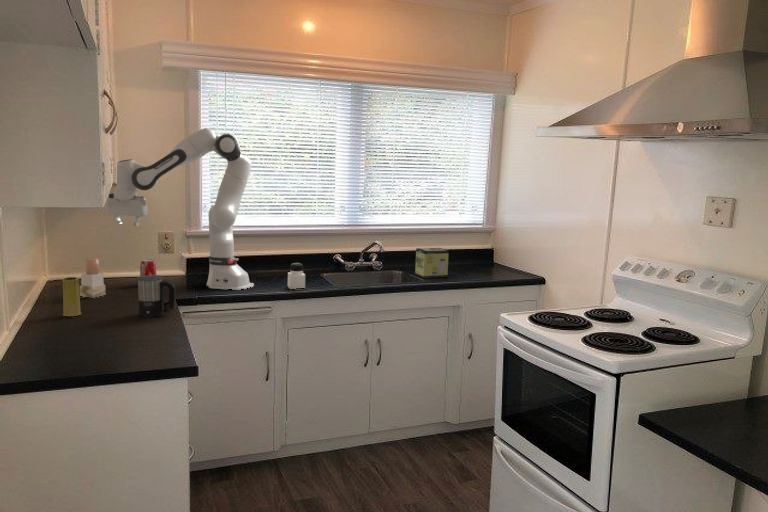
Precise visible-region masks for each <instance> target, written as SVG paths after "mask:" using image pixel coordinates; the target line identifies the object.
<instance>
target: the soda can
mask: <svg viewBox="0 0 768 512" xmlns="http://www.w3.org/2000/svg"><path fill="white" fill-rule="evenodd" d="M139 265H140V266H139V272H140V273H139V275H140V276H148V275H157V263H156V261H155V259H153V258H145V259H141V261H140V264H139ZM140 276H139V277H140Z"/></svg>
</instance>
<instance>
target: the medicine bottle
mask: <svg viewBox="0 0 768 512" xmlns="http://www.w3.org/2000/svg"><path fill="white" fill-rule="evenodd" d="M289 266H290V268H289V269H290V270H289V271H290V272H287V287H288V289H290V290H291V289H295V290H297V289H296V288H305V289H306V273H304V264H303V263H300V262H294V263H291V264H290V265H289Z"/></svg>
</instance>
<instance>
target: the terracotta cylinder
mask: <svg viewBox="0 0 768 512" xmlns="http://www.w3.org/2000/svg"><path fill="white" fill-rule="evenodd" d="M85 273H86V274H98V273H100V258H86V259H85Z"/></svg>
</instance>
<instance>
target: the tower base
mask: <svg viewBox="0 0 768 512" xmlns="http://www.w3.org/2000/svg"><path fill="white" fill-rule="evenodd" d="M103 295H107V294H106V284H104V285H99V286H95V287H89V286H82V284H81V285H80V284H79V296H83V297H82V298H84V297H91V298H94V299H96V298H95V297H98V298H100V297H99V296H102V297H104V296H103ZM91 298H90V299H91Z"/></svg>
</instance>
